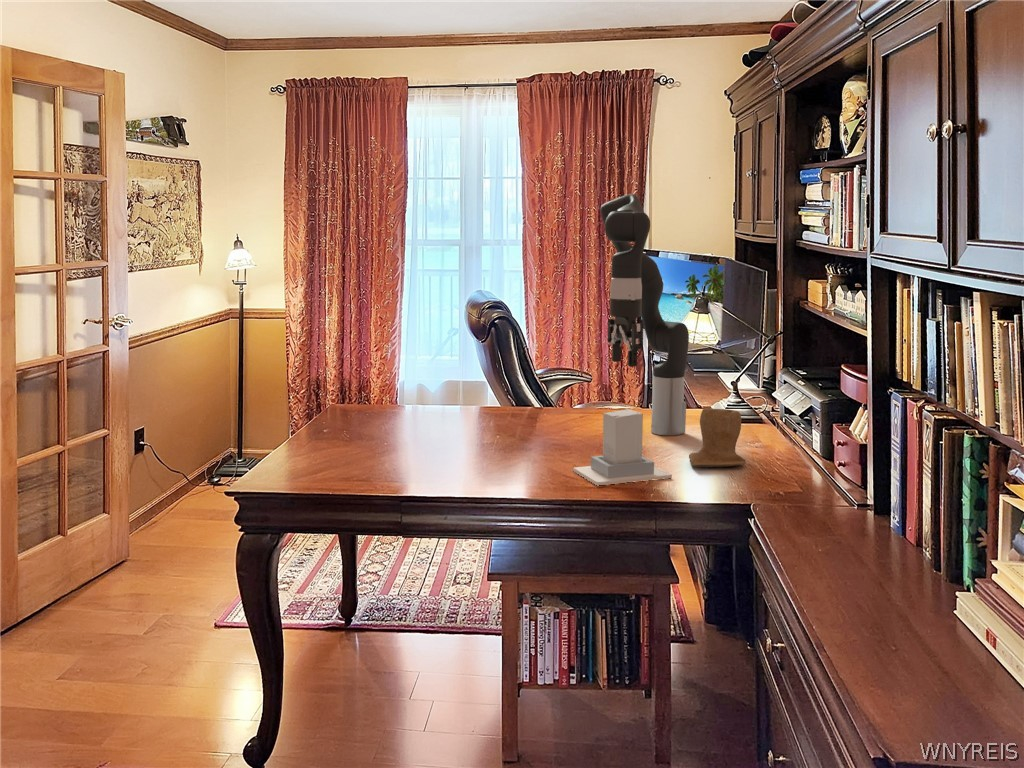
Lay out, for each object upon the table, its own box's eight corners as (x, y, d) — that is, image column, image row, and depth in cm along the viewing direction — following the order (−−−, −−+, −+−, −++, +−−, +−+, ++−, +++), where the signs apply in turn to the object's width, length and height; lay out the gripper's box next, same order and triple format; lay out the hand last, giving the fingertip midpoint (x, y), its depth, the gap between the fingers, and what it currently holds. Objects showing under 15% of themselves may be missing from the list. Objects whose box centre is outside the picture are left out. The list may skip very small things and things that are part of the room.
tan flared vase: (734, 458, 237) (736, 403, 235) (751, 470, 226) (754, 412, 223) (678, 460, 235) (680, 404, 233) (692, 471, 224) (695, 413, 221)
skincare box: (628, 466, 225) (630, 408, 222) (643, 471, 220) (644, 412, 217) (600, 470, 221) (602, 411, 219) (614, 476, 216) (616, 415, 213)
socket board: (644, 464, 230) (644, 449, 230) (671, 478, 217) (672, 462, 217) (573, 471, 224) (573, 455, 223) (597, 486, 211) (597, 469, 210)
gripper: (598, 295, 218) (597, 360, 221) (625, 299, 205) (623, 369, 208) (626, 294, 221) (624, 359, 224) (654, 298, 208) (652, 367, 210)
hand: (624, 363), depth 216 cm, fingers open, 8 cm apart
